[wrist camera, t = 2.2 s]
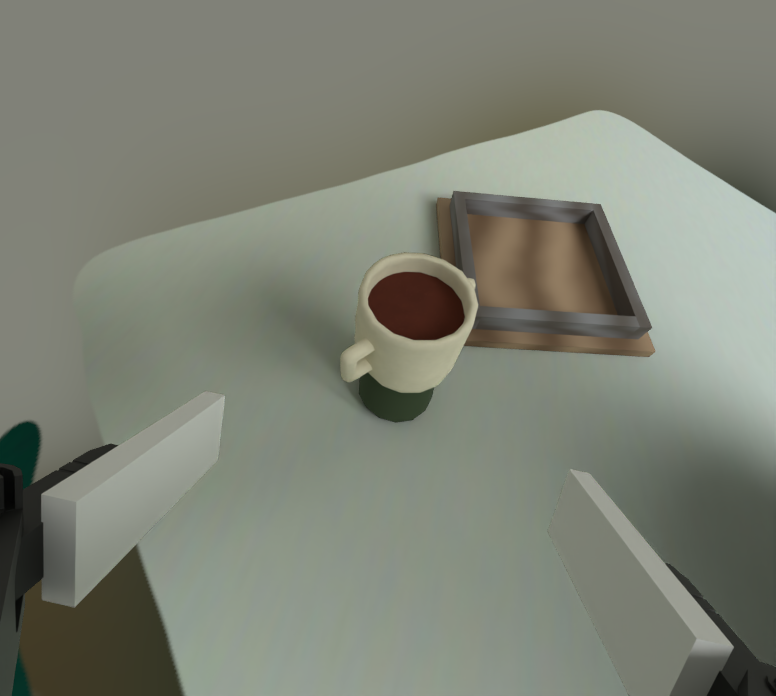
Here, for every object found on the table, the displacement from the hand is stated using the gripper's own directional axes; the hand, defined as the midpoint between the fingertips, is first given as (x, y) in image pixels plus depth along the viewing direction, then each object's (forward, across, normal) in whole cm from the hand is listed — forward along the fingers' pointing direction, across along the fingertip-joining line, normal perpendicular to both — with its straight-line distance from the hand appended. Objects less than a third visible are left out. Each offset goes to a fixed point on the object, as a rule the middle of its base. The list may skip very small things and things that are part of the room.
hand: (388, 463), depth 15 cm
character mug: (+19, 0, -4) cm, 19 cm away
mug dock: (+31, +12, +9) cm, 34 cm away
